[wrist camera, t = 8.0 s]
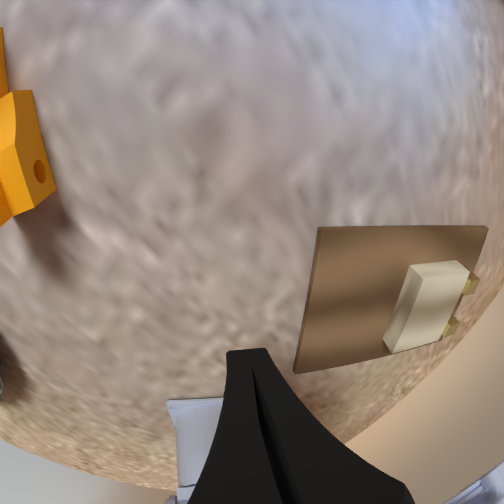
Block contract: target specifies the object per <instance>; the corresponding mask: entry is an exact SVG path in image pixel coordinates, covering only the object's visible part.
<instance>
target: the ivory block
mask: <svg viewBox="0 0 504 504" xmlns="http://www.w3.org/2000/svg"><path fill="white" fill-rule="evenodd" d="M469 273H470V271H468V270H467V269H466V268H465V267H464V266H463V265H462V264H460V263H459V262H458V261H457V260H453V261H444V262H435V263H426V264H416V265H409V268H408V272H407V275H406V278H405V281H404V284H403V286H402V289H401V292H400V295H399V298H398V301H397V303H396V306H395V309H394V311H393V314H392V316H391V319H390V322H389V324H388V327H387V329H386V331H385V334H384V336H383V340H384V342H385V343H386V345H387V347H388V348H389V350H390V351H391V353H392V354H393V353H397V352H400V351H404V350H408V349H411V348H415V347H418V346H422V345H425V344H428V343H431V342H435V341H438V340H439V338H440V336H441V334H442V332H443V330H444V328H445V326H446V325H447V323H448V321H449V318H450V316H451V314H452V312H453V310H454V308H455V306H456V304H457V302H458V299H459V297H460V295H461V293H462V290H463V288H464V286H465V283H466V281H467V278H468V276H469Z"/></svg>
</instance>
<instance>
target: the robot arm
mask: <svg viewBox="0 0 504 504" xmlns="http://www.w3.org/2000/svg"><path fill="white" fill-rule="evenodd" d="M226 362H227V377H226V386H225V392H224V397H221V398H206V399H185V400H168V401H166V406H167V409H168V412H169V415H170V417H171V420H172V423H173V425H174V428H175V430H176V450H177V470H178V486H179V488H176V489H177V497H176V496H175V495H170V496H169V498H168V499H167V500H165V502H164V504H415V502H414V500H413V498H412V496H411V494H410V492H409V490H408V489H407V487H406V486H405V484H404V483H402V482H401V481H399V480H397V479H395V478H393V477H390V476H389V475H387V474H386V473H384V472H382V471H380V470H379V469H377V468H376V467H374V466H372V465H371V464H369V463H368V462H366V461H365V460H363V459H362V458H361V457H359V456H358V455H357V454H355V453H354V452H353V451H351V450H350V449H349V448H348V447H346V446H345V445H344V444H343V443H341V442H340V441H339V440H338V439H337V438H336V437H335V436H333V435H332V434H331V433H330V432H329V431H328V430H327V429H326V428H325V427H324V426H323V425H322V424H321V423H320V422H319V421H318V420H317V419H316V418H315V417H314V416H313V415H312V413H311V412H310V411H309V410H308V409H307V408H306V407H305V405H304V404H303V403H302V402H301V401H300V399H299V398H298V397H297V396H296V394H295V393H294V392H293V390H292V389H291V388H290V386H289V385H288V384H287V382H286V381H285V379H284V378H283V376H282V375H281V373H280V372H279V370H278V369H277V367H276V365H275V364H274V362H273V360H272V359H271V357H270V355H269V353H268V351H267V349H265V348H255V349H245V350H233V351H228V352H227V353H226ZM442 504H504V460H503V461H502V462H500V463H499V464H498V465H497V466H495V467H494V468H493V469H492V470H490V471H489V472H487V473H486V474H484V475H482V476H481V477H480V478H478V479H477V480H475V481H474V482H472V483H471V484H470V485H468V486H467V487H465V488H464V489H462V490H461V491H460V493H458V494H457V495H455V496H454V497H452V498H450V499H449V500H447V501H446V502H444V503H442Z"/></svg>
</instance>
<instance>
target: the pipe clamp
mask: <svg viewBox="0 0 504 504" xmlns="http://www.w3.org/2000/svg"><path fill="white" fill-rule="evenodd" d="M56 189H57V188H56V185H55V182H54V178H53V175H52V172H51V169H50V165H49V162H48V159H47V155H46V151H45V148H44V144H43V140H42V136H41V132H40V128H39V124H38V119H37V115H36V110H35V105H34V100H33V94H32V90H22V91H12V92H10V93H9V90H8V83H7V76H6V68H5V58H4V45H3V28H2V27H0V227H1V226H2V225H3V224H4V223H6V222H7V221H8V220H9V219H10V218H11V217H12V216H15V215H17V214H20V213H22V212H25V211H27V210H29V209H32V208H34V207H36V206H37V205H38V204H39V203H40V202H42V201H43V200H44V199H45V198H46V197H48V196H49V195H50V194H51V193H52V192H54V191H55V190H56Z"/></svg>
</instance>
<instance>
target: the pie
mask: <svg viewBox="0 0 504 504" xmlns="http://www.w3.org/2000/svg"><path fill="white" fill-rule="evenodd" d="M3 390H4V384H3V381H2V379H1V359H0V401H2V396H3Z"/></svg>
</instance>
